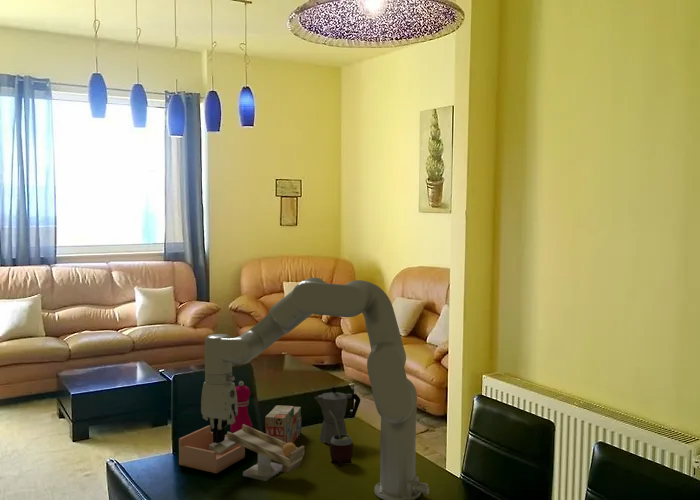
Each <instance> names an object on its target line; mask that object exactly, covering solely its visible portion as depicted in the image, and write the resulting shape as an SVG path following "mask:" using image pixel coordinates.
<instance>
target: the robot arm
mask: <svg viewBox="0 0 700 500" xmlns="http://www.w3.org/2000/svg"><path fill="white" fill-rule="evenodd" d="M361 314H362V316H363V318H364V321H365V322H364V323H365V328H366V333H367V336H368V341H369V344H370V345H369V346H370V353H369V354H368V356H367V361H366V369H367V374H368V379H369V383H370V387H371V392H372V397H373V400H374V404H375V408H376V410H377V413H378V415H379V416H380V441H379V442H380V444H379V445H380V451H379V453H380V454H379V455H380V457H379V458H380V459H379V461H380V463H379V465H380V466H379V468H380V469H379V482H377V483H376V484H375V485H374V486H373V487H374V489H373V490H374V491H373V492H374V494H375V496H376V497H378V498H380V499H381V500H416V499H418V498H419V497H420V496H421V494H423V495H429V494H430V487H429V484H428V483H425V482H421V481H419V480H420V478H419V476H418V475H416V448H417V447H416V444H417V442H416V440H417V439H416V437H417V412H418V411H417V408H418V407H417V406H418V393H417V388H416V386H415V385H414V383H413V382H412V380H411V379H408V377H407V373H406V370H405V369H406V368H405V366H406V362H407V353H406V350H405V347H404V344H403V341H402V337H401V332H400V327H399V325H398V321H397V316H396V313H395V310H394V307H393V303H392V302H391V300H390V297H389V296H388V295H387V293H386V292H385V291H384V290H383V289H382V288H381V287H380V286H379V285H376V284H375V283H373V282H370V281H366V280H362V279H359V280H358V279H357V280H352V281H349V282H347V283H346V284H339V283H329V282H328V283H327V282H326V281H325V280H323V279H322V278H319V277H309V278H307V279H305V280H302V281H300V282H297V284H296V285H295V287H294V288H293V290H291V291H290V292H289V293H288V294H286V295H285V296H284V297H282V298H281V299H280V300H279V301H277V302H276V303H275V304H273V305H272V306H271V307H270V308H269V311H268V313H267V314H266V316H264V317H263V318H262V319H261V320H260V321H259V322H257V323H256V324H254V326H252V327H251V328H250V329H249V330H247V331H245V332H244V333H242V334H240V335H239V336H235V337H231V336H230V335H229V334H225V333H213V334H209V335H207V336H206V337H205V340H204V382H203V384H202V385H203V386H202V390H201V396H200V397H201V399H200V400H201V401H200V412H201V415H202V419H204V421H207V422H208V423H209V425H210V426H211V429H212V432H213V443H220V442H222V441H224V440H225V435H226V427H227V426H228V425H231V424H233V423H235V416H237V415H238V401H237V393H236V387H237V386H236V384H235V382H234V381H235V380H236V378H235V376H234V375H233V364H236V365H245V364H247V363H249V362H251V361H252V360H254V358H257V357H258V356H260V355H261V354H262V353H263V352H264V351H266V350H267V349H268V348H269V347H270V346H272V345H273V344H274V343H275V342H277V341H278V340H280V339H281V338H282V337H284V336H285V335H287V334H289V333H290V332H291V331H293V330H294V329H296V327H298V326H300V324H301V323H303V322H304V321H306V319H308V318H309V317H311V316H312V315H319V316H329V317H330V316H331V317H338V318H354V317H357V316H359V315H361Z"/></svg>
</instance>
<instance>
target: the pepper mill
mask: <svg viewBox="0 0 700 500" xmlns="http://www.w3.org/2000/svg"><path fill="white" fill-rule="evenodd" d="M244 384H245V383H244V381H242V380H239V382H238V385H237V386H235V387H236V393H237V401H238V415H237V416H235V423H233V424H230V428H229V429H230V432H231V433H235V432H237V431H239V430H241V429H242V425H243V424H244V425H247V426H249V427H251V428H253V422H252V420H251V416H250V415H249V410H248V406H249V404H250V400H249V399H250V396H251V390H250V388H249V387H248V386H247V385H244Z"/></svg>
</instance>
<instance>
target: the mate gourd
mask: <svg viewBox="0 0 700 500" xmlns="http://www.w3.org/2000/svg"><path fill="white" fill-rule="evenodd" d="M329 412H330V414H331V415H332V417H333V418H334V422H335V425H336V429H337V433H338V435H335V436H333V437H332V439H331V441H330V445H329V454H330V459H331V460H330V463H331V464H338V467H340V468H342V467H341V466H343V464H342V463H351V464H352V457H353V452H354V442H353V440H352V438H351V437H350V436H349V435H348V434H347V435H343V434H339V430H338V426H337V420H336V418H335V416H334V415H333V414H332V412H331V411H330V410H329Z"/></svg>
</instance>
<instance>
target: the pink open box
mask: <svg viewBox="0 0 700 500" xmlns="http://www.w3.org/2000/svg"><path fill="white" fill-rule="evenodd" d="M211 429H212V428H211V424H209V425H207V426H204V427H202V428H200V429H197V430H195V431H192V432H191V433H189V434H186V435H184V436H182V437H178V465H179V466H182V467H187V468H192V469H195V470H200V471H205V472H209V473H213V474H218V473H220V472H221V471H223V470H225V469H227V468H229V467H230V466H232V465H234V464H236V463H238V462H240V461H241V460H243V459H245V458H246V447H243V446H241V445H239V444H237V445H235V446H233V447H231V448H229V449H227V450H225V451H224V452H222V453H218V452H215V451H213V450H211V449H209V445H210V444H212V443H213V431H211ZM226 436H227V434H225V437H226Z"/></svg>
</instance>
